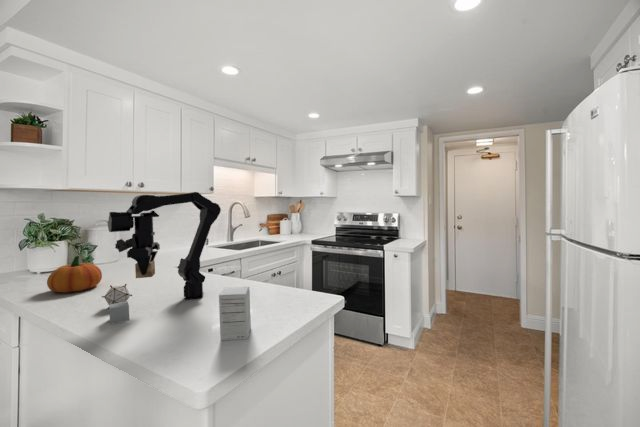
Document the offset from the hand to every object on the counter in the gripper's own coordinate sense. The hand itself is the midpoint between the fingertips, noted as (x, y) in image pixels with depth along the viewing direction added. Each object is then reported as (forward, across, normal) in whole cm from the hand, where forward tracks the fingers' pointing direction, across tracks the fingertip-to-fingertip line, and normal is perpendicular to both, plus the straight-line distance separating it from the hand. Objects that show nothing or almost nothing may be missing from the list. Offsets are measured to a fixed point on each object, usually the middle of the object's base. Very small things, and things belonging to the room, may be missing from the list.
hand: (145, 273), depth 106 cm
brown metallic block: (+1, 0, 0) cm, 1 cm away
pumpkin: (+13, -41, -38) cm, 57 cm away
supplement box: (+13, +34, +30) cm, 47 cm away
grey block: (+13, +9, -6) cm, 17 cm away
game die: (+13, -6, -11) cm, 18 cm away
